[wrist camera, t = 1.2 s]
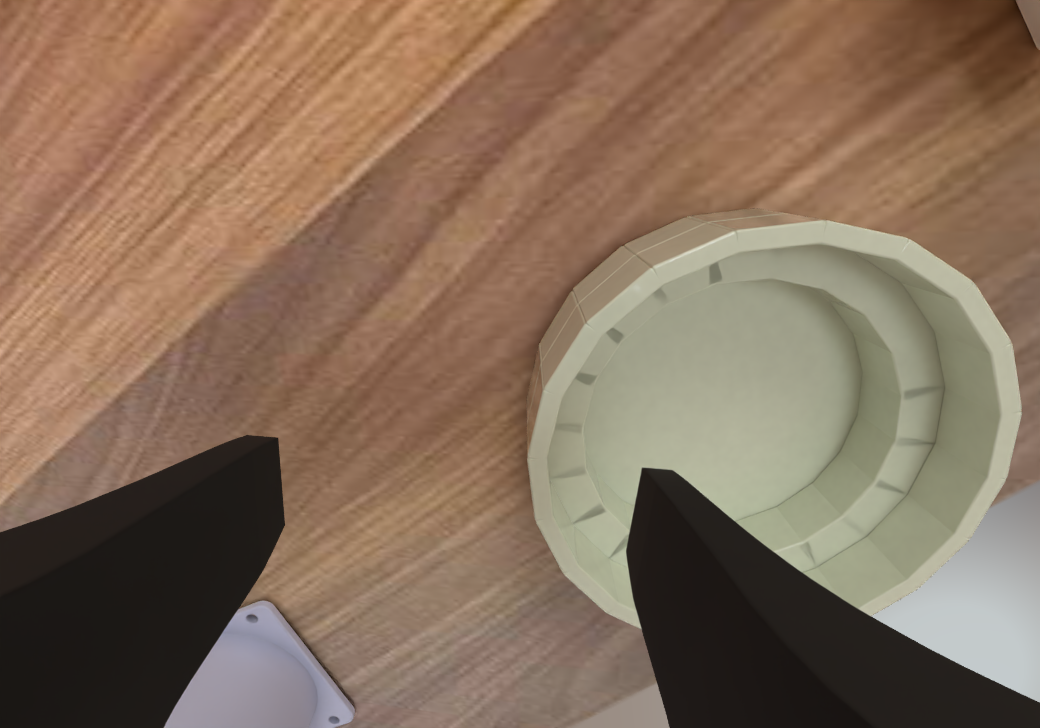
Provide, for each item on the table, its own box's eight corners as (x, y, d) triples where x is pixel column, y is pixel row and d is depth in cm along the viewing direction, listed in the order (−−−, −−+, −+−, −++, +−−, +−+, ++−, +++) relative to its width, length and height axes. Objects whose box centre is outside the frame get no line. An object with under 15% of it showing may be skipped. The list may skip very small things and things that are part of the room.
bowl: (607, 592, 24) (627, 696, 19) (465, 311, 19) (446, 356, 15) (932, 480, 22) (1045, 566, 17) (857, 135, 17) (982, 122, 12)
